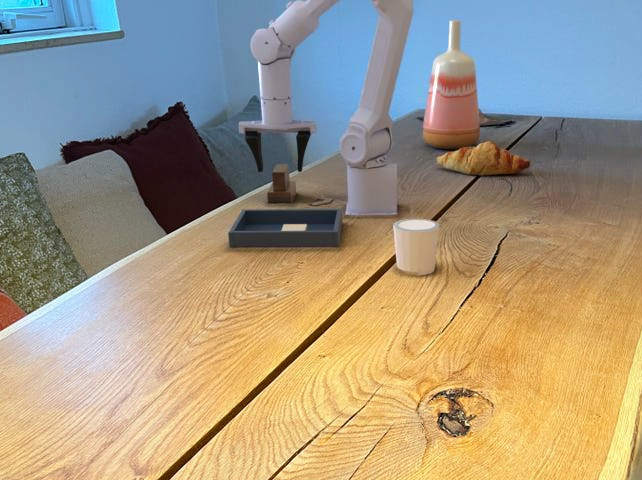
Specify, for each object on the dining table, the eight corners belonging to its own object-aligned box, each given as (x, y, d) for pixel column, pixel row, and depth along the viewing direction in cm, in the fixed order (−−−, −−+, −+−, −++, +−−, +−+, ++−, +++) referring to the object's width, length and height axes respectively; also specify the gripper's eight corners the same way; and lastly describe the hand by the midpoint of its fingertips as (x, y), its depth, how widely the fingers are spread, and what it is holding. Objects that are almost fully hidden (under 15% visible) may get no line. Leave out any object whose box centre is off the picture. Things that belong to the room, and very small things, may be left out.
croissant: (433, 186, 179) (428, 158, 173) (443, 157, 185) (439, 128, 179) (527, 191, 173) (526, 162, 167) (534, 160, 179) (533, 131, 172)
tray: (342, 225, 141) (342, 208, 139) (338, 250, 128) (337, 231, 127) (243, 226, 141) (241, 209, 139) (229, 250, 128) (228, 232, 127)
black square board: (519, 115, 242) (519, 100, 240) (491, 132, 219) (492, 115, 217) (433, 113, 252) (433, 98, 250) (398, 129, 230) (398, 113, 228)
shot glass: (443, 264, 122) (445, 220, 119) (431, 279, 116) (432, 233, 113) (401, 259, 124) (401, 216, 121) (387, 274, 118) (386, 228, 115)
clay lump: (307, 230, 136) (307, 224, 135) (305, 237, 132) (304, 230, 132) (284, 231, 136) (283, 224, 136) (281, 238, 132) (280, 231, 132)
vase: (488, 144, 204) (495, 19, 191) (462, 154, 194) (467, 22, 180) (439, 139, 211) (442, 18, 198) (411, 148, 201) (413, 21, 187)
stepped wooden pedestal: (296, 193, 161) (294, 163, 158) (291, 205, 153) (289, 173, 150) (274, 193, 161) (271, 163, 158) (268, 205, 153) (265, 173, 150)
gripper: (316, 94, 152) (319, 166, 158) (240, 95, 152) (246, 166, 158) (313, 100, 146) (316, 174, 152) (234, 100, 146) (240, 174, 152)
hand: (280, 170), depth 154 cm, fingers open, 7 cm apart
